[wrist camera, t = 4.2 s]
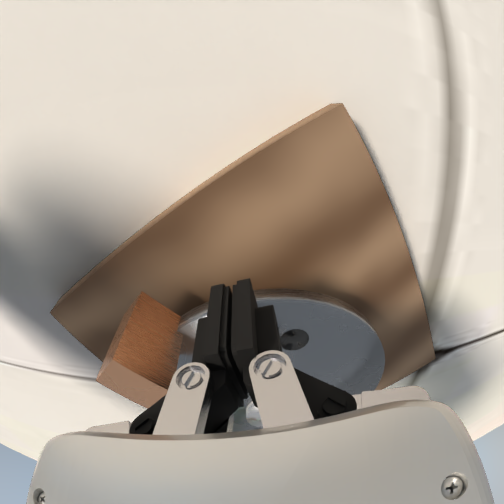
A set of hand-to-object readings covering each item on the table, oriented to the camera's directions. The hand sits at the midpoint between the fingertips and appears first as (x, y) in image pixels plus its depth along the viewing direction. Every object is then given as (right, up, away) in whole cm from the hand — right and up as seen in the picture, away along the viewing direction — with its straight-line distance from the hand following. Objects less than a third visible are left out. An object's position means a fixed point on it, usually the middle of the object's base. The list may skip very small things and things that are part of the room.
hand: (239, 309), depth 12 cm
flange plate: (+1, -6, +6) cm, 8 cm away
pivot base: (+2, -4, +10) cm, 11 cm away
